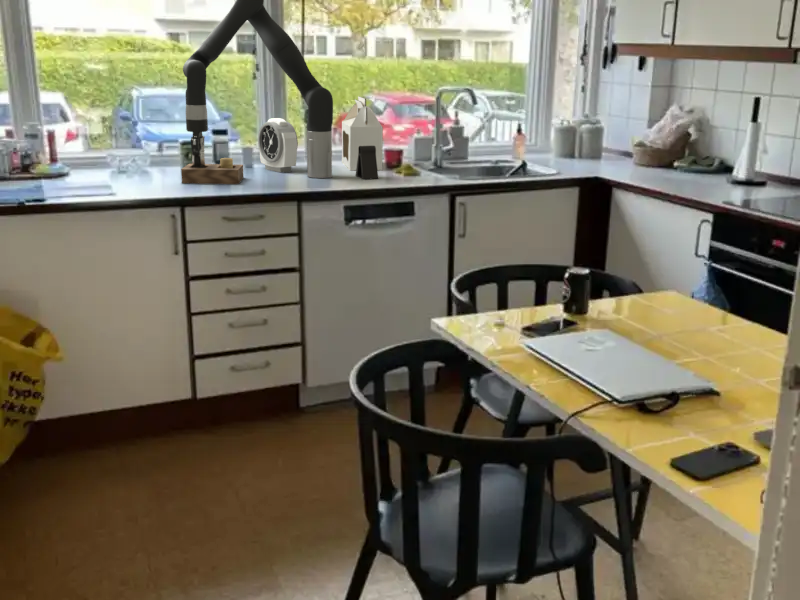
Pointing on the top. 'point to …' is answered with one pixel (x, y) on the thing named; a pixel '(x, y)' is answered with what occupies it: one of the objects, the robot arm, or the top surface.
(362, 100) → the gable box
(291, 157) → the alarm clock
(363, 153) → the door stopper
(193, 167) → the steel bushing
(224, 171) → the block
